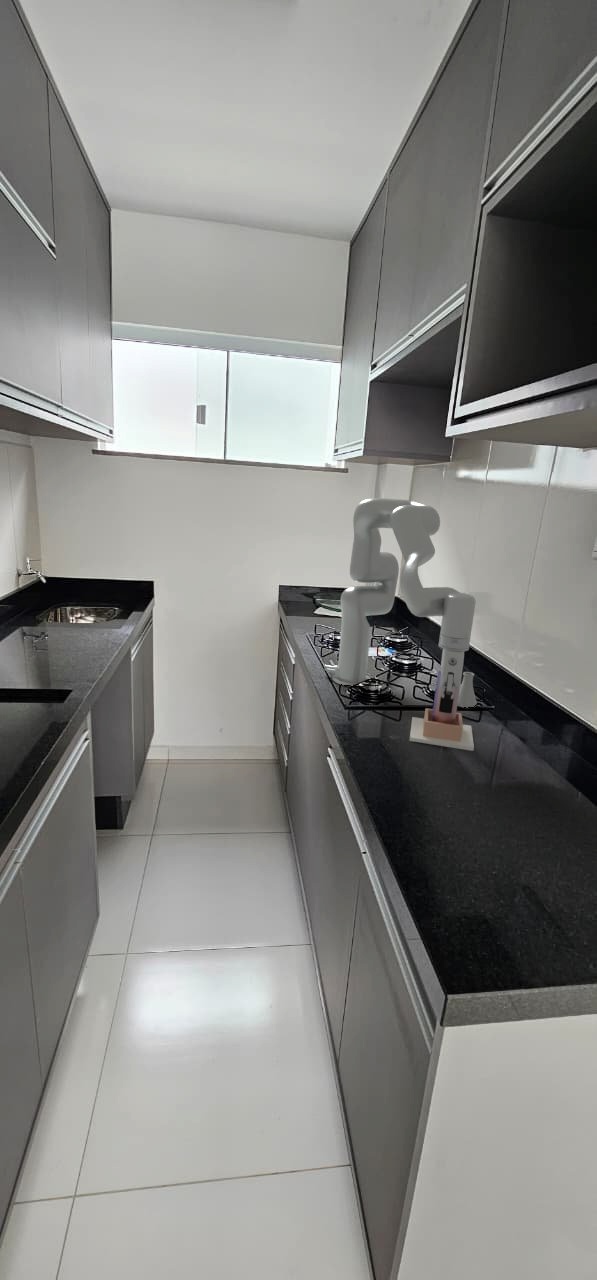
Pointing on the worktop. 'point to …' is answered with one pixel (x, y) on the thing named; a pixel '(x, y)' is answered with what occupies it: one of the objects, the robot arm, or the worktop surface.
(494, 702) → the worktop surface
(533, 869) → the worktop surface
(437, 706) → the beverage can
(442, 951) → the worktop surface
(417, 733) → the socket plate
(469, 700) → the flask
